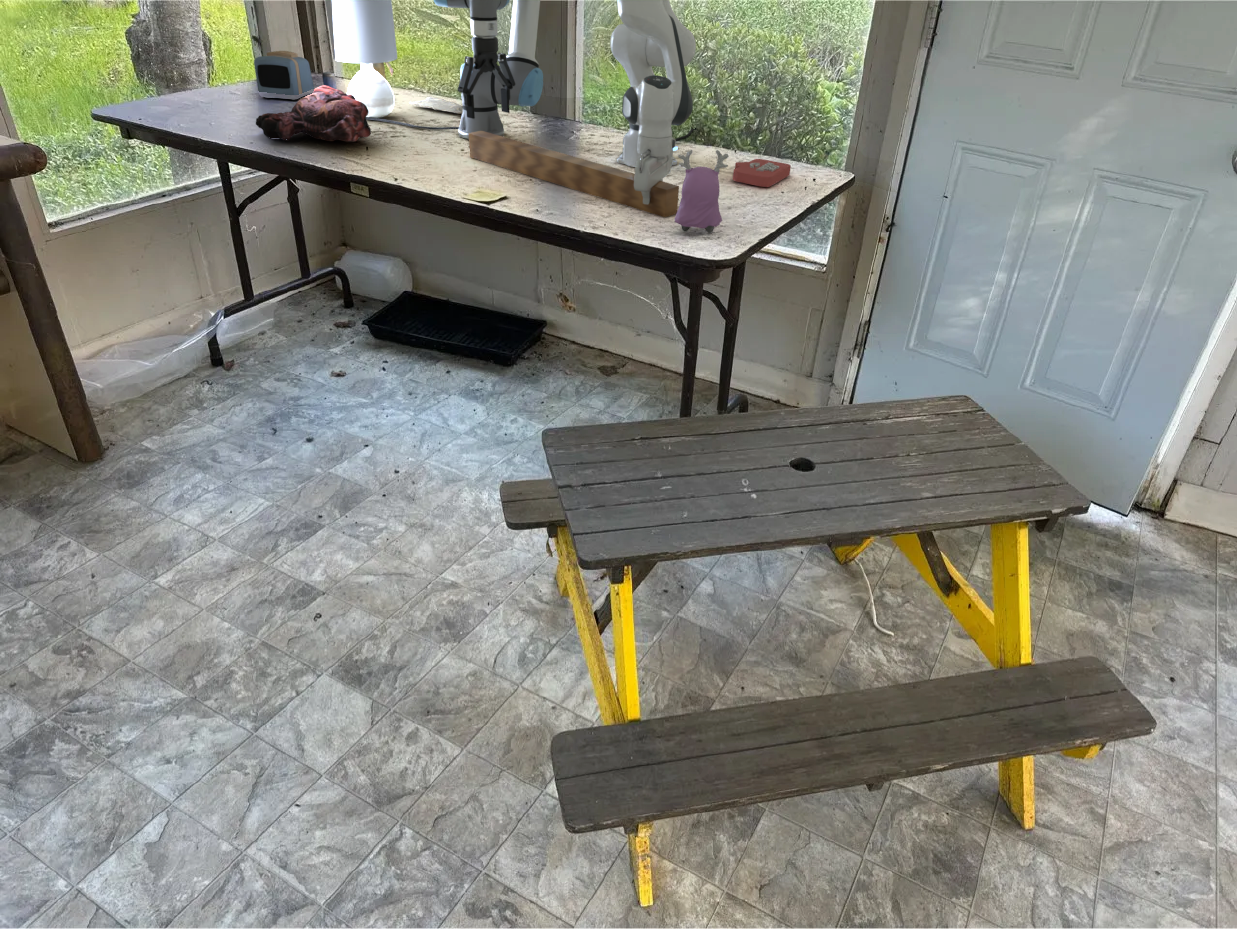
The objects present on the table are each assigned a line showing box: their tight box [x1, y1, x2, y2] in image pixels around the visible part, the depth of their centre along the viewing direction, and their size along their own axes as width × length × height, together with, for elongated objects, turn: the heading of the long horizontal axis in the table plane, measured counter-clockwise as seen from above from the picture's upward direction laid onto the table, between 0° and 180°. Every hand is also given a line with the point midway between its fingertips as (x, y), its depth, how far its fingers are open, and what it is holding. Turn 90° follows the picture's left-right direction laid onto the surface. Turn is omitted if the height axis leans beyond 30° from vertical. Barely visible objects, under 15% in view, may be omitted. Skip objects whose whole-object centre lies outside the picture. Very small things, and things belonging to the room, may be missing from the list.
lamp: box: [324, 0, 398, 119], centre depth 295 cm, size 22×22×40 cm
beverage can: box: [321, 71, 338, 90], centre depth 314 cm, size 9×8×12 cm
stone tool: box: [408, 96, 463, 115], centre depth 318 cm, size 11×3×25 cm
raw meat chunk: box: [255, 84, 372, 143], centre depth 275 cm, size 43×30×13 cm
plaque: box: [732, 158, 792, 188], centre depth 254 cm, size 18×4×15 cm
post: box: [468, 131, 680, 218], centre depth 243 cm, size 79×5×7 cm, turn 48°
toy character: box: [674, 149, 730, 234], centre depth 207 cm, size 12×10×20 cm
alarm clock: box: [253, 50, 315, 95], centre depth 326 cm, size 16×16×16 cm
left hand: (488, 114), depth 255 cm, fingers open, 13 cm apart
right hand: (651, 199), depth 226 cm, fingers closed on post, 6 cm apart
